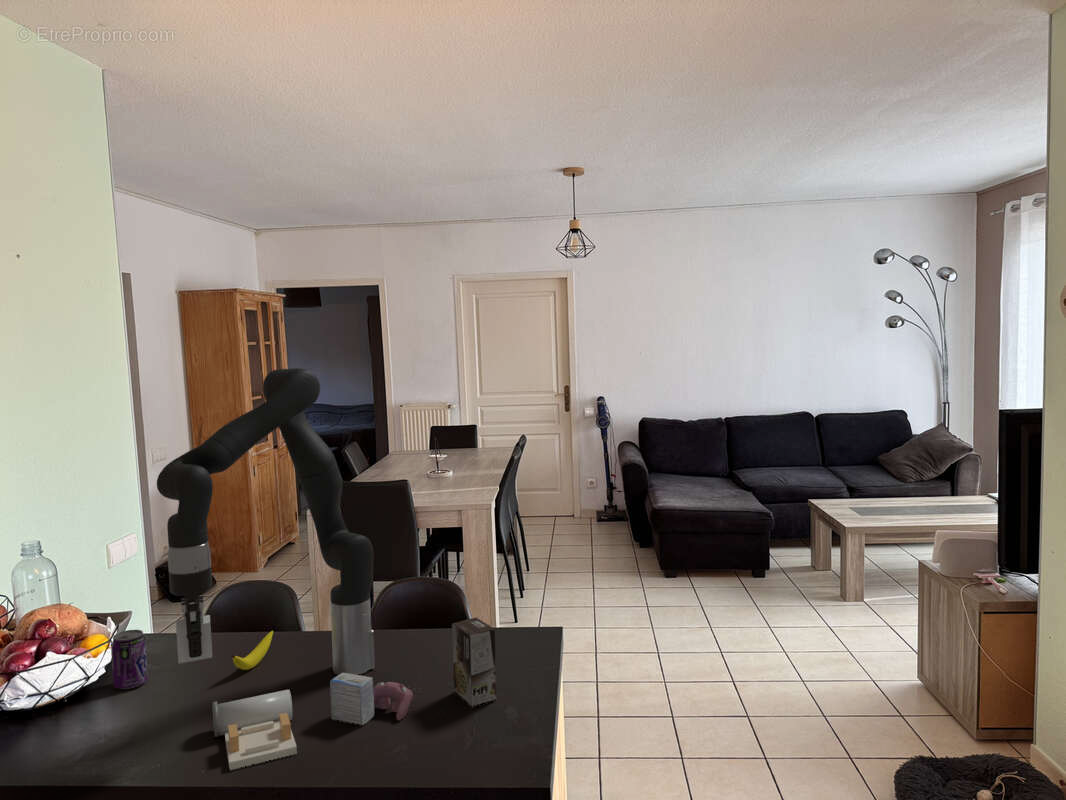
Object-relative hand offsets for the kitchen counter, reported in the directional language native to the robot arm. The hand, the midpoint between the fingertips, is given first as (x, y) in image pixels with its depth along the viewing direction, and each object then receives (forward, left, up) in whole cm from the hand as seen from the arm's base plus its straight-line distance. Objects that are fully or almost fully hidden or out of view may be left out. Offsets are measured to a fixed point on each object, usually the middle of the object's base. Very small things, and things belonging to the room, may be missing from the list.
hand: (195, 651), depth 146 cm
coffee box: (-55, +7, -19) cm, 59 cm away
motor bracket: (-10, +4, -19) cm, 22 cm away
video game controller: (-37, +5, -19) cm, 42 cm away
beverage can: (+14, -36, -19) cm, 43 cm away
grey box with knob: (0, 0, -1) cm, 1 cm away
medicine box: (-29, +4, -19) cm, 35 cm away
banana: (-13, -34, -19) cm, 41 cm away
